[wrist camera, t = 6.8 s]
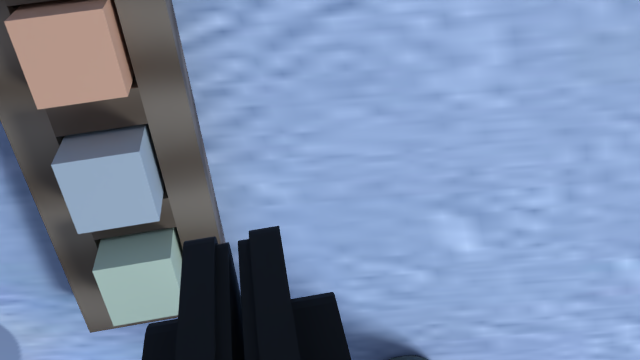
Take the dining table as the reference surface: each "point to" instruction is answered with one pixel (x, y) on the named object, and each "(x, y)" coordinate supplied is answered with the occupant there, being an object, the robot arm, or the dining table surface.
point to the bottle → (408, 358)
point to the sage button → (140, 275)
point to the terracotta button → (71, 51)
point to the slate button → (110, 178)
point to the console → (138, 108)
